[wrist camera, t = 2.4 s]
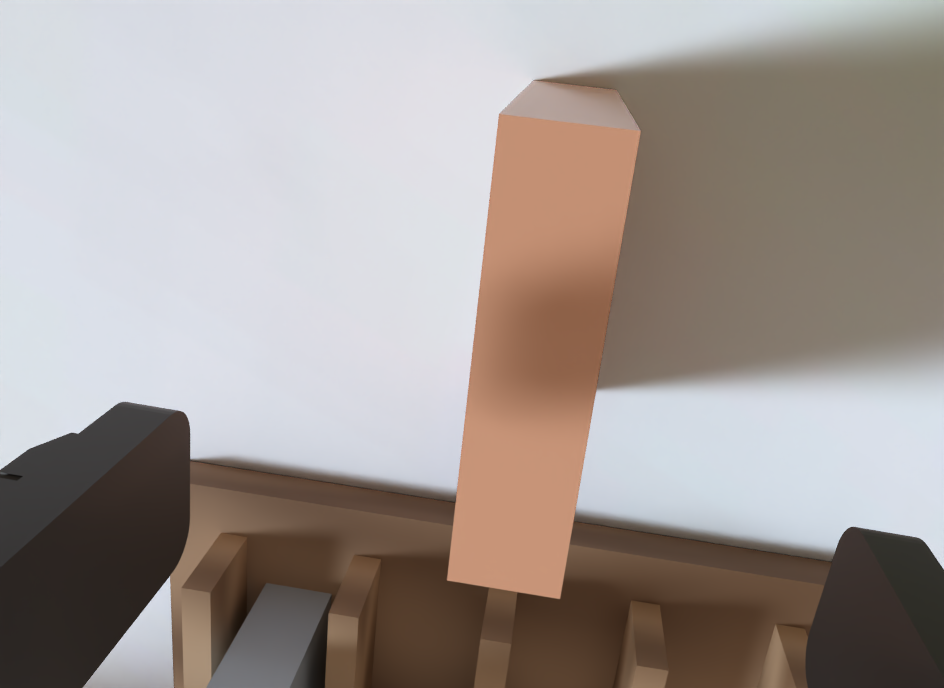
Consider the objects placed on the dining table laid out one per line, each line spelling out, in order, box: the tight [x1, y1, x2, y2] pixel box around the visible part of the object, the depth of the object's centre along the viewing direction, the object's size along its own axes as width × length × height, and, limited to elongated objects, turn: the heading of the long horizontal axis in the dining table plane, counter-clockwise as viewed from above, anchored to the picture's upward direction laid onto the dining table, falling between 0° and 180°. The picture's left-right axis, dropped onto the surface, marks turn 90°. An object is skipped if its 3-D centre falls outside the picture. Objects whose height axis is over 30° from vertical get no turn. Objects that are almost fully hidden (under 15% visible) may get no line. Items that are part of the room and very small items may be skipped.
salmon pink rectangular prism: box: [447, 80, 641, 599], centre depth 17 cm, size 8×2×9 cm, turn 174°
